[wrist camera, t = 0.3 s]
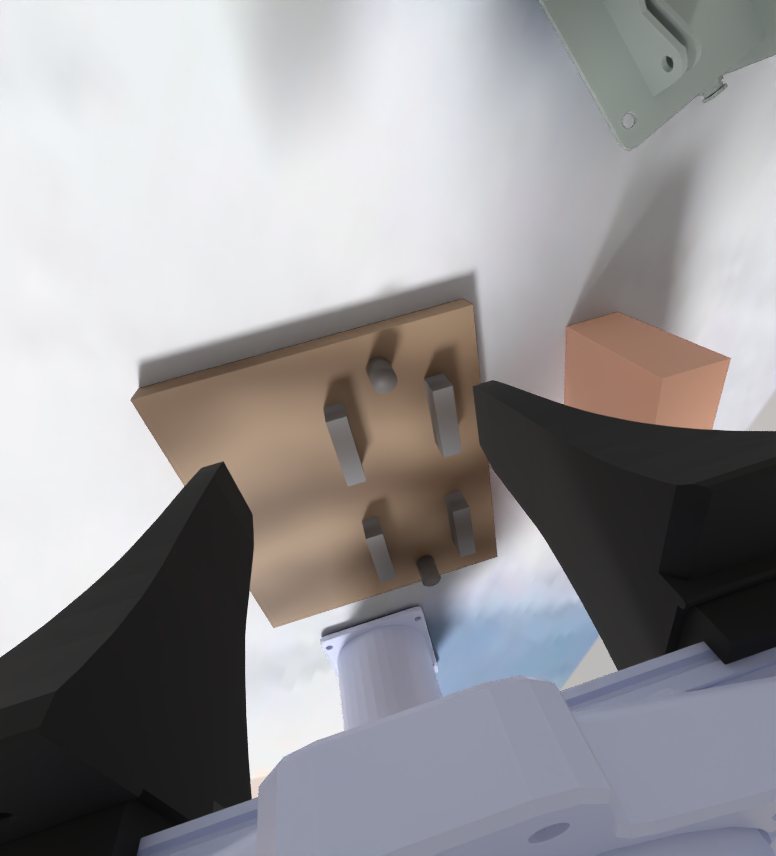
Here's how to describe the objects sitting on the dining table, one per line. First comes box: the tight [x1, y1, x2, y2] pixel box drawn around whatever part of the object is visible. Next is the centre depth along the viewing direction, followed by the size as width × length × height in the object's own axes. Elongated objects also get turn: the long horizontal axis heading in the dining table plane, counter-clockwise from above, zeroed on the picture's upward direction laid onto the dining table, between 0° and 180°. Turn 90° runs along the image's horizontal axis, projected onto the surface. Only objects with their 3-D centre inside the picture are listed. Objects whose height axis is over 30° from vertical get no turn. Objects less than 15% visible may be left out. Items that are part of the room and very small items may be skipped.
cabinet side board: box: [131, 299, 497, 628], centre depth 24 cm, size 18×16×3 cm
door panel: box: [564, 312, 731, 430], centre depth 23 cm, size 12×3×7 cm, turn 12°
